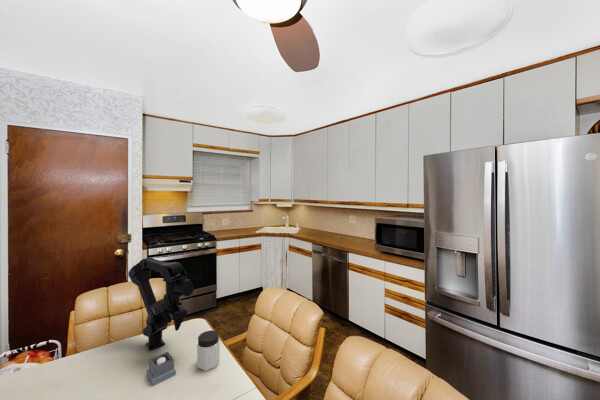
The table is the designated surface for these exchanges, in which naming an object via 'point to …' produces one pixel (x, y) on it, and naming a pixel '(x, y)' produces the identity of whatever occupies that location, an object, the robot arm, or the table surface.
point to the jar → (208, 350)
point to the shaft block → (162, 377)
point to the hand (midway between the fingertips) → (173, 326)
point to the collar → (161, 365)
